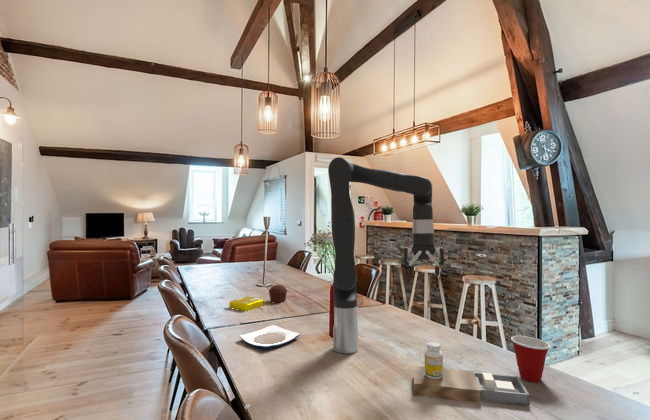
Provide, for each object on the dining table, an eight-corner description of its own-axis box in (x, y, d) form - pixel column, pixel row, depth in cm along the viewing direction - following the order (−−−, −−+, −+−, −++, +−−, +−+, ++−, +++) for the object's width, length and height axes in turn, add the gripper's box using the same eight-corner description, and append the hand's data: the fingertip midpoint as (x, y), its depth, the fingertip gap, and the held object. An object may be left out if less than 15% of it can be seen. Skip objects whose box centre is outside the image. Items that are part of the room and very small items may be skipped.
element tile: (247, 303, 210) (247, 295, 210) (265, 306, 202) (265, 298, 202) (228, 309, 198) (227, 300, 198) (246, 312, 189) (246, 304, 189)
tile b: (514, 389, 96) (515, 398, 96) (511, 381, 100) (511, 390, 100) (497, 387, 97) (497, 396, 97) (494, 380, 102) (494, 388, 102)
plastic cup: (560, 385, 104) (559, 346, 104) (526, 387, 103) (525, 347, 103) (535, 369, 115) (534, 333, 115) (504, 371, 114) (503, 335, 114)
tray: (481, 400, 96) (481, 389, 96) (474, 381, 107) (474, 372, 107) (529, 405, 93) (529, 394, 93) (518, 386, 104) (517, 376, 104)
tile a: (484, 379, 98) (494, 380, 97) (482, 372, 102) (491, 373, 102) (485, 395, 98) (494, 396, 97) (482, 387, 102) (491, 388, 102)
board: (414, 395, 100) (413, 383, 100) (414, 376, 111) (414, 365, 111) (480, 403, 95) (480, 390, 95) (473, 382, 107) (473, 371, 107)
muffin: (265, 301, 211) (264, 285, 212) (279, 298, 219) (279, 282, 219) (276, 305, 203) (276, 288, 203) (291, 301, 210) (290, 285, 210)
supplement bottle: (439, 381, 101) (438, 349, 101) (421, 376, 104) (421, 344, 104) (446, 374, 105) (445, 343, 105) (429, 369, 108) (428, 339, 108)
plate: (303, 339, 147) (303, 333, 147) (265, 354, 132) (265, 347, 132) (273, 329, 161) (273, 323, 161) (236, 342, 146) (235, 335, 146)
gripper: (402, 232, 124) (403, 277, 123) (444, 232, 120) (445, 278, 120) (403, 231, 131) (404, 273, 131) (442, 231, 127) (443, 274, 127)
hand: (424, 276), depth 125 cm, fingers open, 8 cm apart
